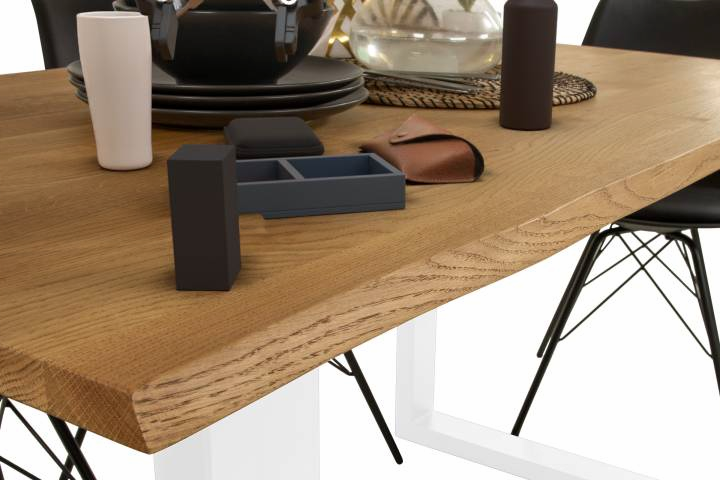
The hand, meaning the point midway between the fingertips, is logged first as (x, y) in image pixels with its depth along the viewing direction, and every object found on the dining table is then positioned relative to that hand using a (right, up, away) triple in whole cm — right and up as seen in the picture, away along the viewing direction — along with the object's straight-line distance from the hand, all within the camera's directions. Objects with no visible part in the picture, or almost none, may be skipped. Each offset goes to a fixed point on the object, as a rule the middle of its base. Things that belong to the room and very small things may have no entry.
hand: (223, 54), depth 75 cm
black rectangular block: (0, -17, -4) cm, 17 cm away
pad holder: (+3, -10, +16) cm, 19 cm away
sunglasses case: (+13, -4, +32) cm, 35 cm away
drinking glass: (-16, -5, +28) cm, 33 cm away
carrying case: (-3, -3, +35) cm, 35 cm away
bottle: (+27, +4, +55) cm, 61 cm away
